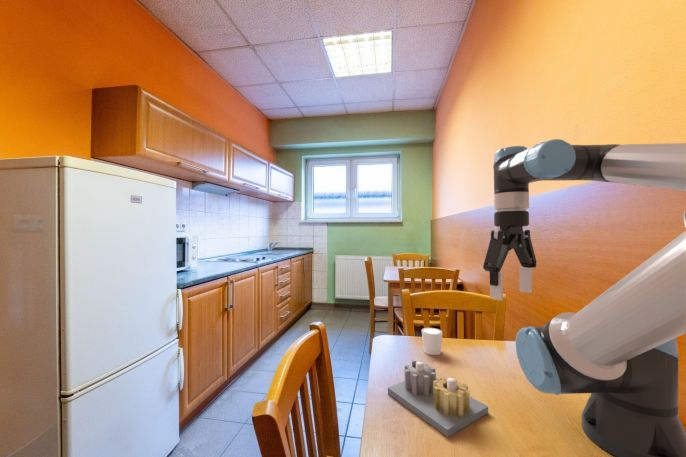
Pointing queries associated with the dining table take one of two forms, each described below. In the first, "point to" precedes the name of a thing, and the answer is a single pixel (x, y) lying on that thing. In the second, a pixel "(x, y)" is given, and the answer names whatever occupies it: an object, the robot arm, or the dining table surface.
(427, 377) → the gear board
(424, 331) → the beige cup
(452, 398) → the brass gear
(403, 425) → the dining table surface
